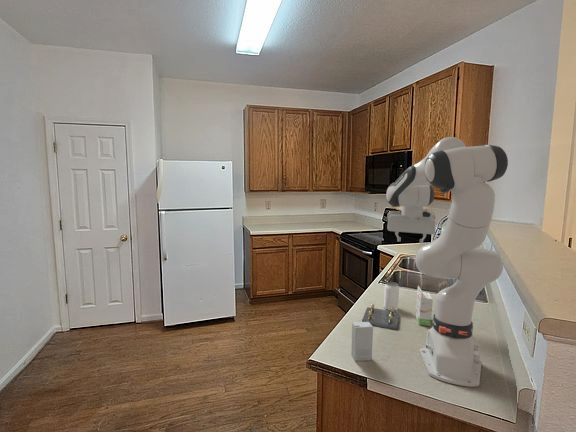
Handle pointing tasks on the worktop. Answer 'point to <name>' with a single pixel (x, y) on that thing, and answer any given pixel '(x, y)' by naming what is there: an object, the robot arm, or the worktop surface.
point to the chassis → (381, 317)
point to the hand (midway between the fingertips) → (409, 242)
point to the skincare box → (362, 341)
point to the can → (391, 296)
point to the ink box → (423, 308)
